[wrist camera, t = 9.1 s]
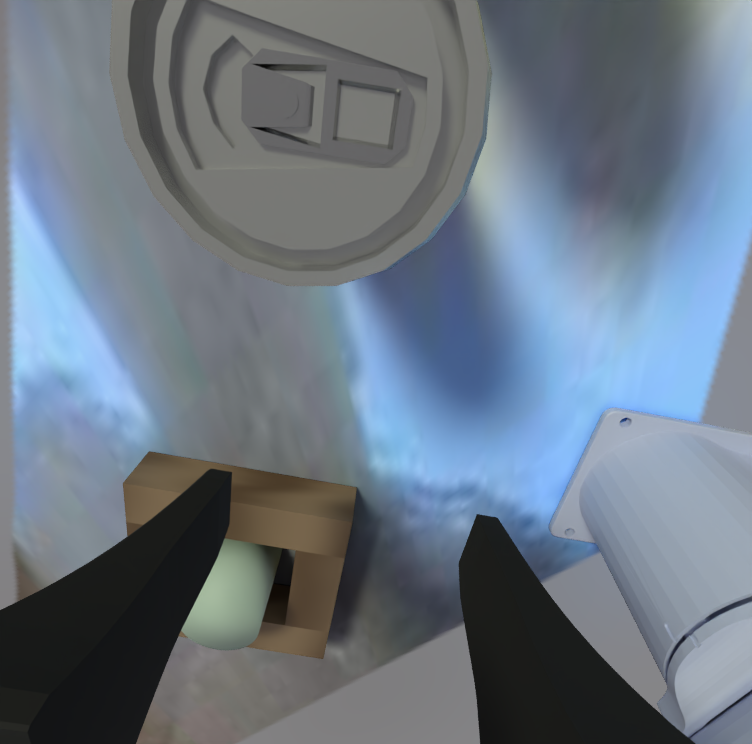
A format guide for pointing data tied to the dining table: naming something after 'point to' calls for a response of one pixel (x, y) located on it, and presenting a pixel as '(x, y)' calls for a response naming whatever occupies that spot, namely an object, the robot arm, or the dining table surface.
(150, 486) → the socket
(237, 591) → the peg
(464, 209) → the dining table surface
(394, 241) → the beer can
